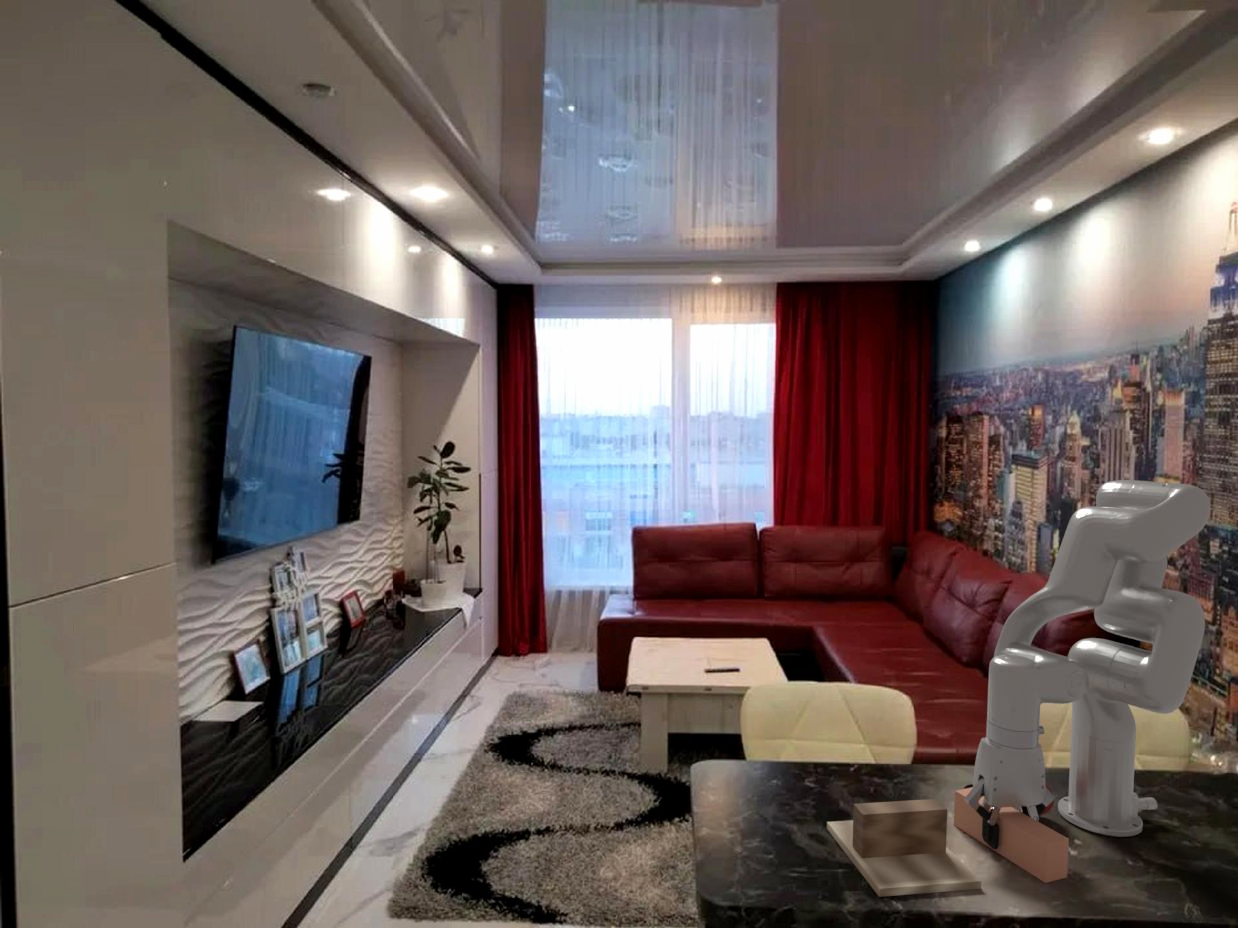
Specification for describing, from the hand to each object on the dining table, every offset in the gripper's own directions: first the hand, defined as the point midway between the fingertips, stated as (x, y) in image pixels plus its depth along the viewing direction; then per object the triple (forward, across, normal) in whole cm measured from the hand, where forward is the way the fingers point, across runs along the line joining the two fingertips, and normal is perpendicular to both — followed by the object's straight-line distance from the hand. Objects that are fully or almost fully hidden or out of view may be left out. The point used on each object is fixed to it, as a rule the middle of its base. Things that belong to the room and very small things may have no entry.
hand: (1007, 842), depth 125 cm
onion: (+1, -11, -9) cm, 15 cm away
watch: (+1, -4, -14) cm, 15 cm away
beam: (+1, 0, 0) cm, 1 cm away
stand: (+1, +19, 0) cm, 19 cm away
